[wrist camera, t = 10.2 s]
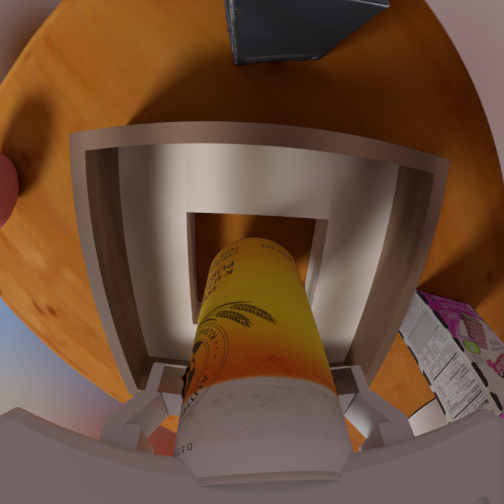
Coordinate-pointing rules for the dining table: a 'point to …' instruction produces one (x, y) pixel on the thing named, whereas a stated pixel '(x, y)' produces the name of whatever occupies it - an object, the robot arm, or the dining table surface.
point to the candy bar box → (455, 355)
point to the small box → (293, 27)
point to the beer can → (259, 377)
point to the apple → (7, 188)
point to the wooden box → (253, 203)
